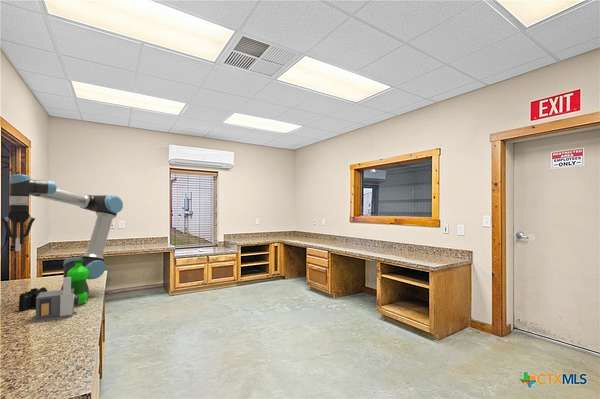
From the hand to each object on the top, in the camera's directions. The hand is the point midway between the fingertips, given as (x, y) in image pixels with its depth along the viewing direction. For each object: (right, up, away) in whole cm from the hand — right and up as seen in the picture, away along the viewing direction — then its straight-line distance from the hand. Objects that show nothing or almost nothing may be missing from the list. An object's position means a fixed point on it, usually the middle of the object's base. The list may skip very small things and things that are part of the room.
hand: (17, 250), depth 156 cm
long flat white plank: (+28, -31, -4) cm, 42 cm away
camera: (+1, -33, +11) cm, 35 cm away
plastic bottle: (+18, -33, +17) cm, 41 cm away
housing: (+22, -32, -1) cm, 39 cm away
